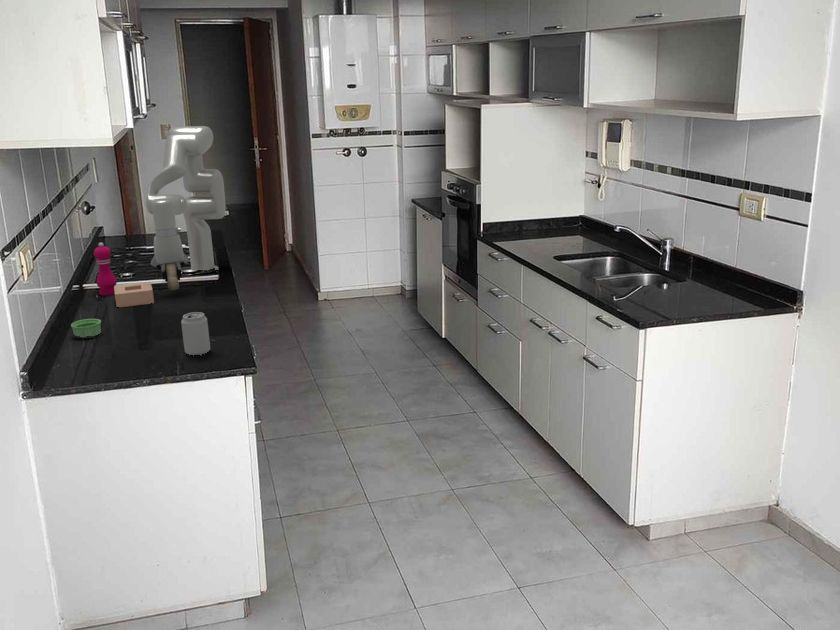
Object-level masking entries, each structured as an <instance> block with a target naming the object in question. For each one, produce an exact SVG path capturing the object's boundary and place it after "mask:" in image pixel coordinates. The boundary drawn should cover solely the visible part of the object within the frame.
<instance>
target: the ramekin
mask: <svg viewBox="0 0 840 630" xmlns="http://www.w3.org/2000/svg"><path fill="white" fill-rule="evenodd" d="M101 325H102V320H101V319H98V318H87V319H86V318H85V319H79V320H77V321H74V322H72V323H71V325H70V326H71V328H72V332H73V336H74V335H75V336H80V337H86V336H95V335H98V334H100V333H101V334H102V326H101ZM101 334H100V335H101ZM75 336H74V337H75Z"/></svg>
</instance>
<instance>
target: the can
mask: <svg viewBox="0 0 840 630" xmlns="http://www.w3.org/2000/svg"><path fill="white" fill-rule="evenodd" d="M180 323H181V331H182V333H181V334H182V340H183V346H184V353H185V354H187V355H188V354H189V355H188V356H190V355H193V356H192V357H195V356H194V355H200V356H203V355H202V354H204V355H206V354H208V353H209V351H211V342H210V333H209V325H208V324H209V323H208V318H207V317H206V316H205V313H204V312H199V311H198V312H197V311H193V312H188V313H186V314H183V316H182V319H181V321H180ZM207 352H208V353H207ZM205 353H206V354H205Z"/></svg>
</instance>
